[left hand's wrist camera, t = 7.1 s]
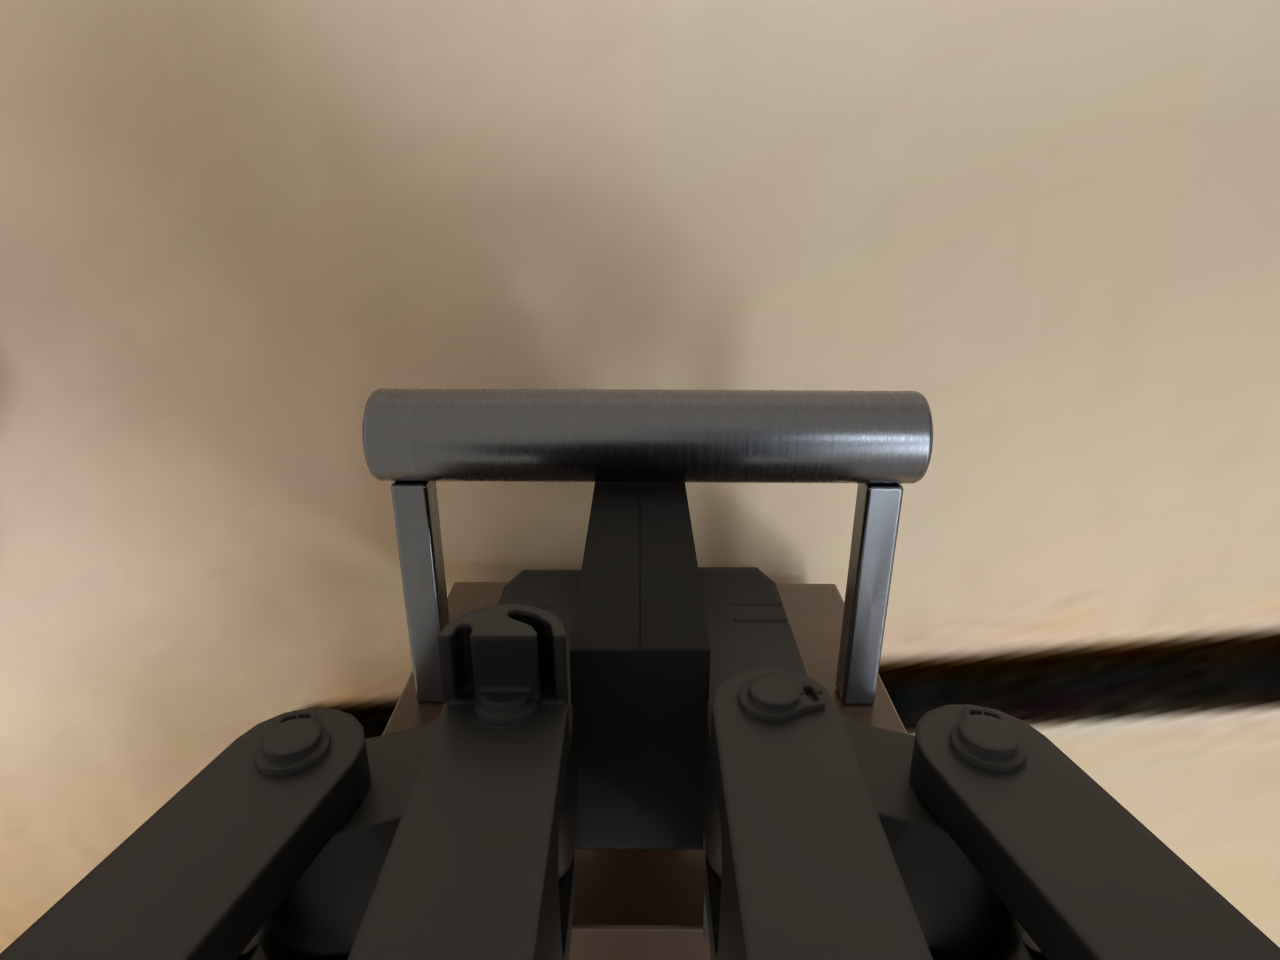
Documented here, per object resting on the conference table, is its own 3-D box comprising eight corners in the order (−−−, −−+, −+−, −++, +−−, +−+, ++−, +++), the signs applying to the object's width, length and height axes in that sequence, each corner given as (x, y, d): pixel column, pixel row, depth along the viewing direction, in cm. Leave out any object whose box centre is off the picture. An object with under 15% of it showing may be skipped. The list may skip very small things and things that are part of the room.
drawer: (431, 338, 16) (198, 509, 8) (861, 340, 16) (1103, 513, 8) (502, 1095, 25) (429, 1563, 16) (780, 1097, 25) (851, 1566, 16)
